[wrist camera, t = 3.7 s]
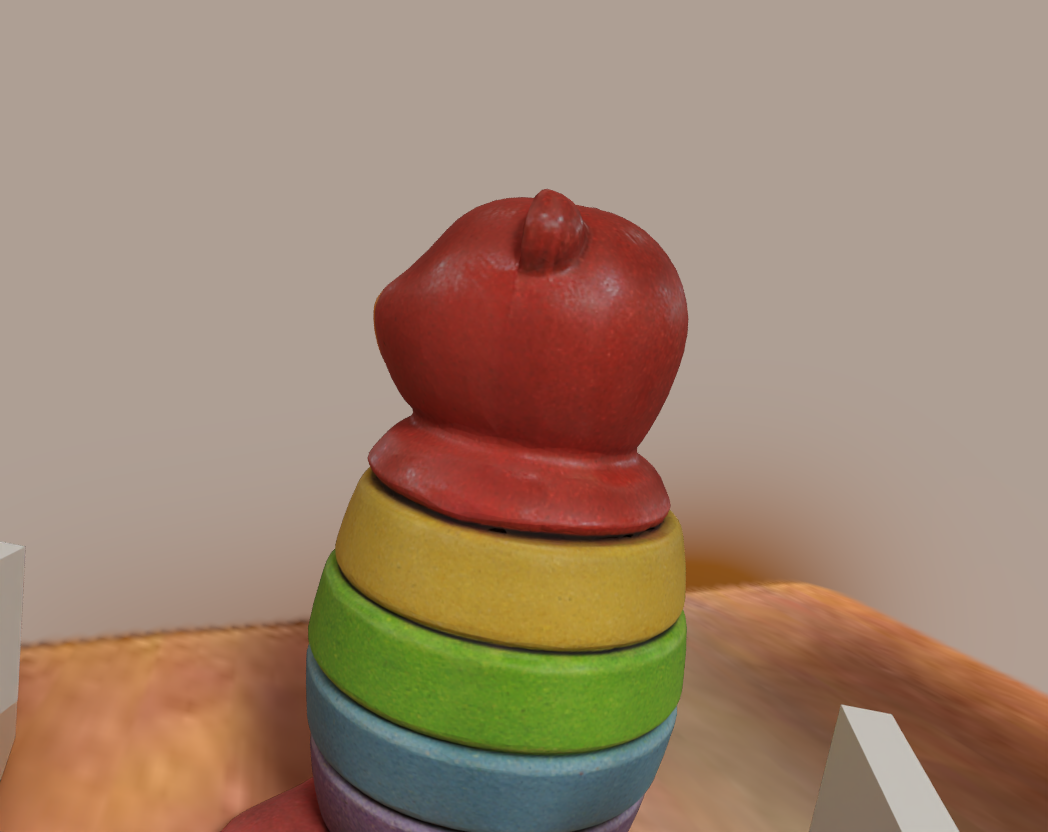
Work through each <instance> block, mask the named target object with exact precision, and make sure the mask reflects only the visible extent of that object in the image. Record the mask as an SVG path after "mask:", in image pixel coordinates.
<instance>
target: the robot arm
mask: <svg viewBox="0 0 1048 832" xmlns="http://www.w3.org/2000/svg"><path fill="white" fill-rule="evenodd" d="M25 549H26V547H25V546H21V545H15V544H10V543H6V542H0V714H1V713H2V712H3V711H5V710H6V709H7V708H8V707H10V706H11V705H12V704H14V703H15V702H16V701H18V685H19V666H20V646H21V625H22V607H23V587H24V568H25V567H24V566H25ZM809 832H959V830H958V828H957V827H956V825H955V823H954V821H953V820H952V818H951V816H950V815H949V813H948V811H947V809H946V808H945V806H944V804H943V802H942V801H941V799H940V797H939V795H938V794H937V792H936V790H935V788H934V787H933V785H932V783H931V782H930V780H929V778H928V776H927V775H926V773H925V771H924V769H923V768H922V766H921V764H920V762H919V761H918V759H917V757H916V756H915V754H914V752H913V750H912V749H911V747H910V745H909V743H908V742H907V740H906V738H905V736H904V735H903V733H902V731H901V729H900V728H899V726H898V724H897V723H896V721H895V719H894V717H893V716H892V714H888V713H882V712H877V711H872V710H867V709H862V708H857V707H852V706H846V705H841V706H840V710H839V714H838V718H837V722H836V726H835V730H834V734H833V738H832V742H831V746H830V750H829V754H828V758H827V762H826V766H825V770H824V774H823V778H822V782H821V786H820V790H819V794H818V798H817V802H816V806H815V810H814V814H813V818H812V822H811V826H810V830H809Z"/></svg>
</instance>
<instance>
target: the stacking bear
mask: <svg viewBox="0 0 1048 832" xmlns="http://www.w3.org/2000/svg"><path fill="white" fill-rule="evenodd" d="M374 329H375V335H376V339H377V344H378V347H379V350H380V353H381V355H382V357H383V359H384V362H385V363H386V366H387V368H388V371H389V373H390V375H391V378H392V380H393V381H394V383H395V385H396V387H397V389H398V391H399V392H400V394H401V395H402V397H403V398H404V400H405V401H406V402H407V403H408V404H409V405H410V406H411V407H412V409H413V414H412V415H411V416H409V417H407V418H405V419H403V420H402V421H400V422H398V423H397V424H396V425H394V426H393V427H392V428H391V429H390V430H388V431H387V433H386V434H384V435H383V437H382V438H381V439H380V440H379V441H378V442H377V443H376V444H375V445H374V446H373V448H372V449H371V451H370V452H369V455H368V462H369V465H370V467H369V468H368V469H367V470H366V471H365V473H364V474H363V475H362V477H361V478H360V480H359V482H358V484H357V486H356V489H355V491H354V493H353V495H352V498H351V500H350V502H349V505H348V507H347V510H346V513H345V516H344V518H343V521H342V524H341V527H340V530H339V533H338V537H337V540H336V544H335V546H336V547H335V549H334V550H333V551H332V553H331V554H330V556H329V558H328V559H327V561H326V564H325V567H324V570H323V573H322V576H321V579H320V583H319V586H318V590H317V593H316V597H315V600H314V603H313V608H312V612H311V617H310V621H309V626H308V640H309V645H308V649H307V658H306V698H307V717H308V724H309V728H310V731H311V737H310V748H311V761H312V772H313V777H312V778H310V779H309V780H307V781H305V782H304V783H302V784H300V785H298V786H296V787H294V788H292V789H290V790H288V791H286V792H284V793H281V794H279V795H277V796H275V797H273V798H271V799H268V800H266V801H264V802H262V803H260V804H258V805H256V806H254V807H252V808H250V809H248V810H246V811H244V812H243V813H241V814H240V815H238V816H236V817H235V818H233V819H232V820H231V821H230V822H229V823H228V824H227V826H226V827H225V828H224V829H223V830H222V831H221V832H628V831H629V829H630V827H631V825H632V823H633V821H634V818H635V816H636V814H637V812H638V810H639V807H640V805H641V802H642V800H643V797H644V794H645V792H646V791H647V790H648V788H649V787H650V785H651V783H652V782H653V780H654V777H655V775H656V773H657V770H658V768H659V765H660V763H661V761H662V758H663V756H664V753H665V750H666V747H667V745H668V742H669V739H670V736H671V733H672V730H673V728H674V724H675V720H676V716H677V704H678V702H679V699H680V696H681V692H682V685H683V677H684V666H685V655H686V633H687V627H686V618H685V614H684V611H683V607H684V602H685V585H686V584H685V582H686V566H685V552H684V539H683V533H682V528H681V525H680V523H679V520H678V519H677V518H676V516H675V515H674V514H673V513H672V512H671V511H670V500H669V497H668V494H667V492H666V489H665V487H664V484H663V482H662V479H661V477H660V476H659V474H658V473H657V471H656V470H655V468H654V467H653V466H652V465H651V464H650V463H649V462H648V461H647V460H646V459H645V458H643V457H642V456H641V455H640V454H638V453H637V447H638V446H639V444H640V443H641V442H642V441H643V439H644V437H645V436H646V434H647V433H648V431H649V430H650V428H651V426H652V425H653V423H654V421H655V420H656V418H657V416H658V414H659V412H660V410H661V408H662V406H663V405H664V403H665V401H666V399H667V397H668V395H669V392H670V389H671V386H672V384H673V382H674V379H675V377H676V374H677V372H678V369H679V366H680V363H681V359H682V356H683V353H684V348H685V343H686V338H687V331H688V311H687V303H686V298H685V294H684V290H683V286H682V283H681V281H680V278H679V276H678V273H677V270H676V268H675V267H674V265H673V264H672V262H671V260H670V259H669V257H668V255H667V254H666V253H665V252H664V251H663V249H662V248H661V247H660V245H659V244H658V243H657V242H656V241H655V240H654V239H653V238H652V237H651V236H650V235H649V234H648V233H647V232H645V231H644V230H643V229H641V228H640V227H638V226H637V225H635V224H634V223H632V222H630V221H628V220H626V219H625V218H623V217H620V216H618V215H615V214H613V213H610V212H606V211H602V210H599V209H597V208H589V207H584V206H579V205H575V204H574V203H573V202H572V201H571V200H570V199H568V198H567V197H565V196H564V195H563V194H560V193H558V192H555V191H553V190H549V189H544V190H542V191H540V192H539V193H538V194H537V195H536V196H535V198H526V197H518V198H506V199H501V200H495V201H492V202H490V203H487V204H484V205H481V206H479V207H476V208H474V209H473V210H471V211H469V212H468V213H466V214H464V215H463V216H462V217H460V218H459V219H457V220H456V221H455V222H454V223H453V224H452V226H450V227H449V228H448V229H447V230H446V231H445V232H444V233H443V234H442V236H441V237H440V238H439V239H438V240H437V241H436V242H435V243H434V244H433V246H431V248H430V249H429V250H428V251H427V252H426V253H425V254H423V255H422V256H421V257H420V258H419V259H418V260H417V261H416V262H415V263H414V264H413V265H412V266H411V267H410V268H409V269H408V270H406V271H405V272H404V273H402V274H401V275H400V276H399V277H397V278H396V279H395V280H394V281H392V282H391V283H390V284H388V286H387V287H385V288H384V289H383V291H382V292H381V293H380V295H379V296H378V298H377V299H376V302H375V305H374Z"/></svg>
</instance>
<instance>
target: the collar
mask: <svg viewBox="0 0 1048 832" xmlns="http://www.w3.org/2000/svg"><path fill="white" fill-rule="evenodd" d="M16 716H17V701H16V702H15V703H14V704H12V705H11V706H10V707H8V708H7V709H6V710H5V711H3V712H2V713H1V714H0V781H1V778H2V775H3V772H4V769H5V766H6V763H7V760H8V757H9V754H10V751H11V748H12V745H13V742H14V739H15V735H16Z"/></svg>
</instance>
